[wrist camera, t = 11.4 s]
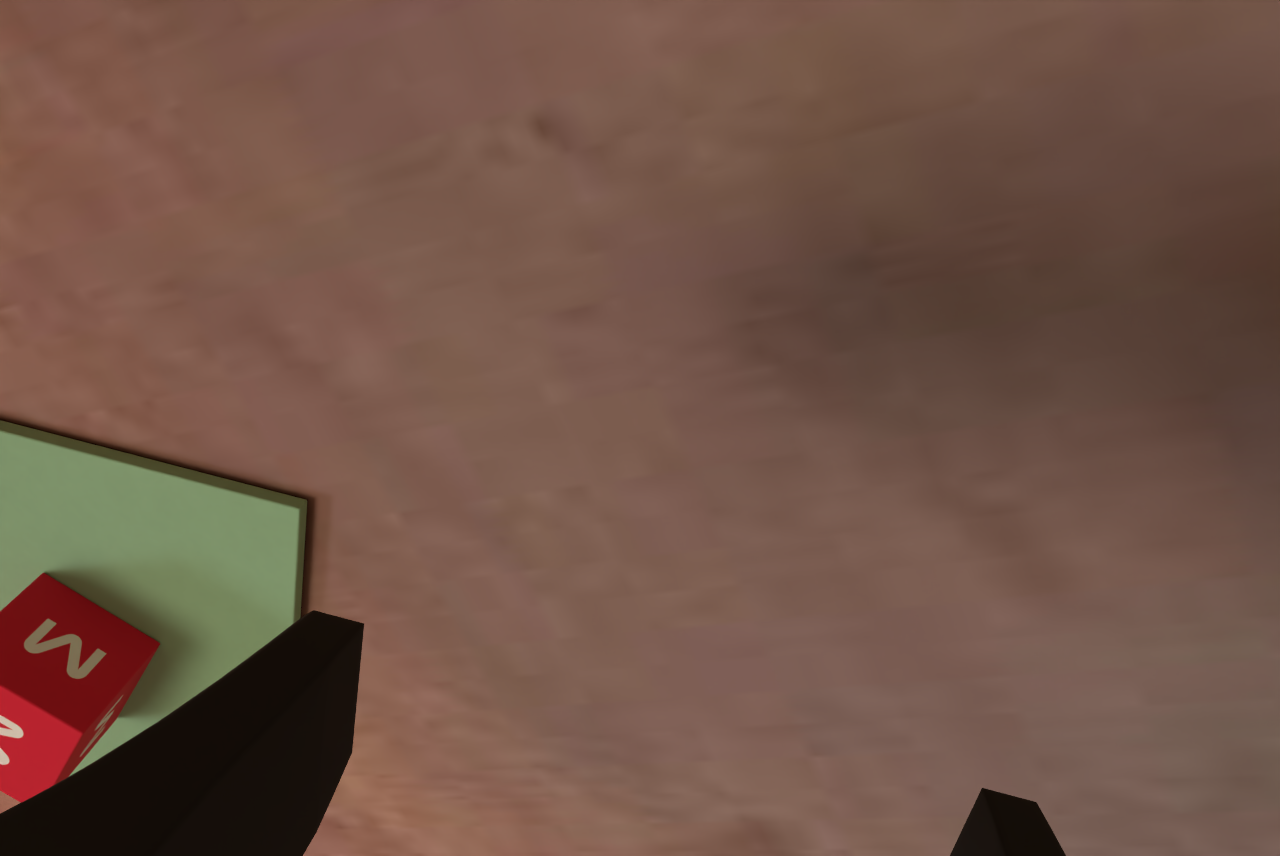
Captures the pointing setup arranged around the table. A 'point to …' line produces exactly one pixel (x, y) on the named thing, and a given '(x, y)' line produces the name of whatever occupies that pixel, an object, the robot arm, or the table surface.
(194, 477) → the green square board
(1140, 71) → the table surface
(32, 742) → the red letter cube
